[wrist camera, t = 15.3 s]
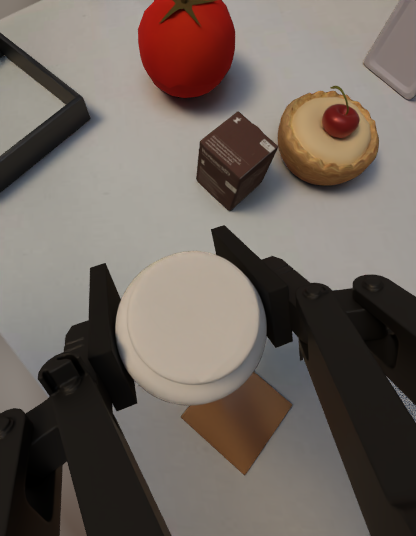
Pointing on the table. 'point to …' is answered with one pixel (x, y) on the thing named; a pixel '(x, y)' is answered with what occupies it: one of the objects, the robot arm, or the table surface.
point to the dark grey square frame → (49, 132)
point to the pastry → (327, 138)
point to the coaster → (240, 421)
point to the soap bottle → (397, 50)
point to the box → (234, 160)
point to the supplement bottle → (191, 328)
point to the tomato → (186, 45)
